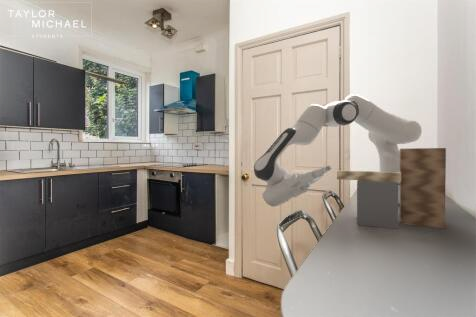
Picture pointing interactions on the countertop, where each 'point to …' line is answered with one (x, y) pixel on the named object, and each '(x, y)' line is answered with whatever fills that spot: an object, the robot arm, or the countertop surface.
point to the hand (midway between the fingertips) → (327, 168)
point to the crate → (377, 203)
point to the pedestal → (422, 186)
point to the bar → (369, 176)
